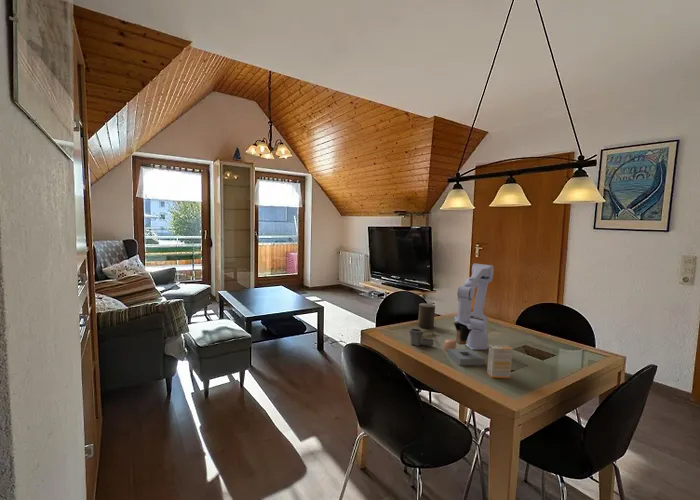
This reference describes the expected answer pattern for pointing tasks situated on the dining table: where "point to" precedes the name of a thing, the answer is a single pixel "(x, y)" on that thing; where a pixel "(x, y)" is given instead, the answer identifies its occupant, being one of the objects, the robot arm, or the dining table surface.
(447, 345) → the peach egg-shaped blob
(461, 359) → the block
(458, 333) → the square peg
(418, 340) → the pipe
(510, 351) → the supplement box
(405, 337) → the dining table surface
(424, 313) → the pillar candle
